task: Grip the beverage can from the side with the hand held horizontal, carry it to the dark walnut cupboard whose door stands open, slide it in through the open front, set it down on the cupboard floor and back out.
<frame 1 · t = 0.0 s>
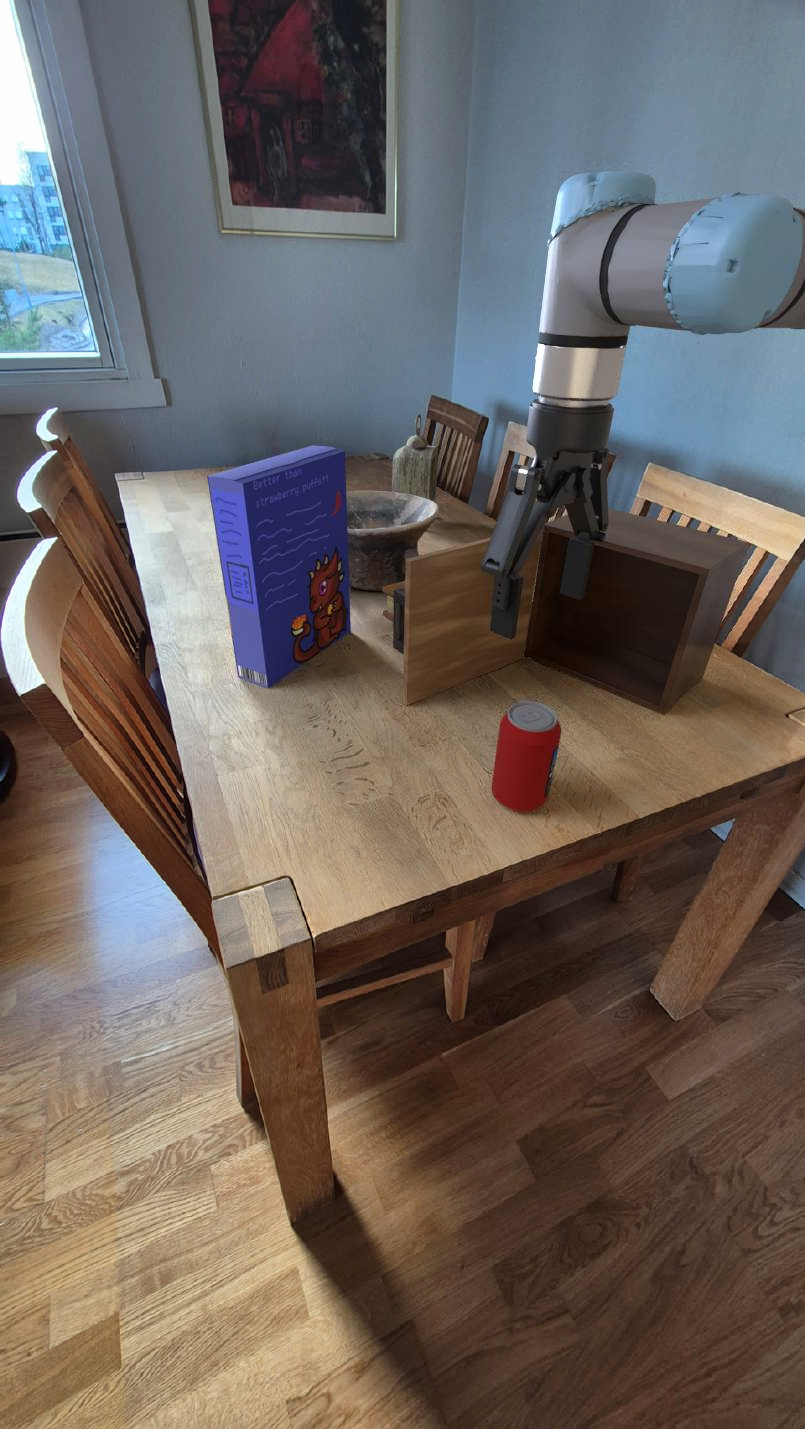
hand: (538, 614, 69), 21 cm above the table, tool pointing down, fingers open, 13 cm apart
beverage can: (518, 797, 75), on the table
cabinet door: (460, 608, 92), point 11 cm above the table, hinge at 100.0°
cabinet: (611, 667, 101), on the table
grey bell: (413, 522, 159), on the table
bowl: (371, 580, 128), on the table
cereal box: (298, 654, 103), on the table
diary: (461, 627, 111), on the table
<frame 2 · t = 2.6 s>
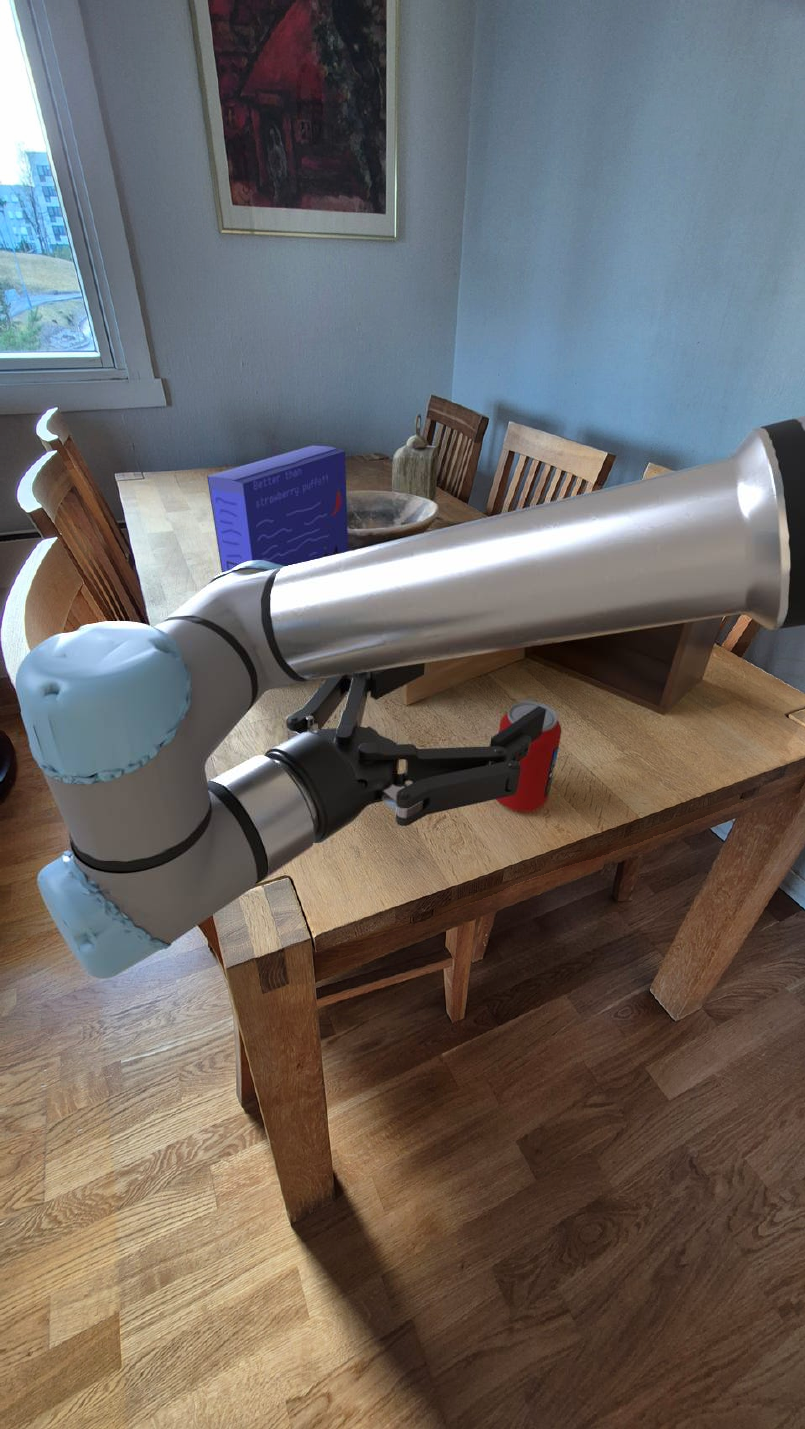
hand: (477, 688, 57), 20 cm above the table, tool horizontal, fingers open, 13 cm apart
nothing on the table moved.
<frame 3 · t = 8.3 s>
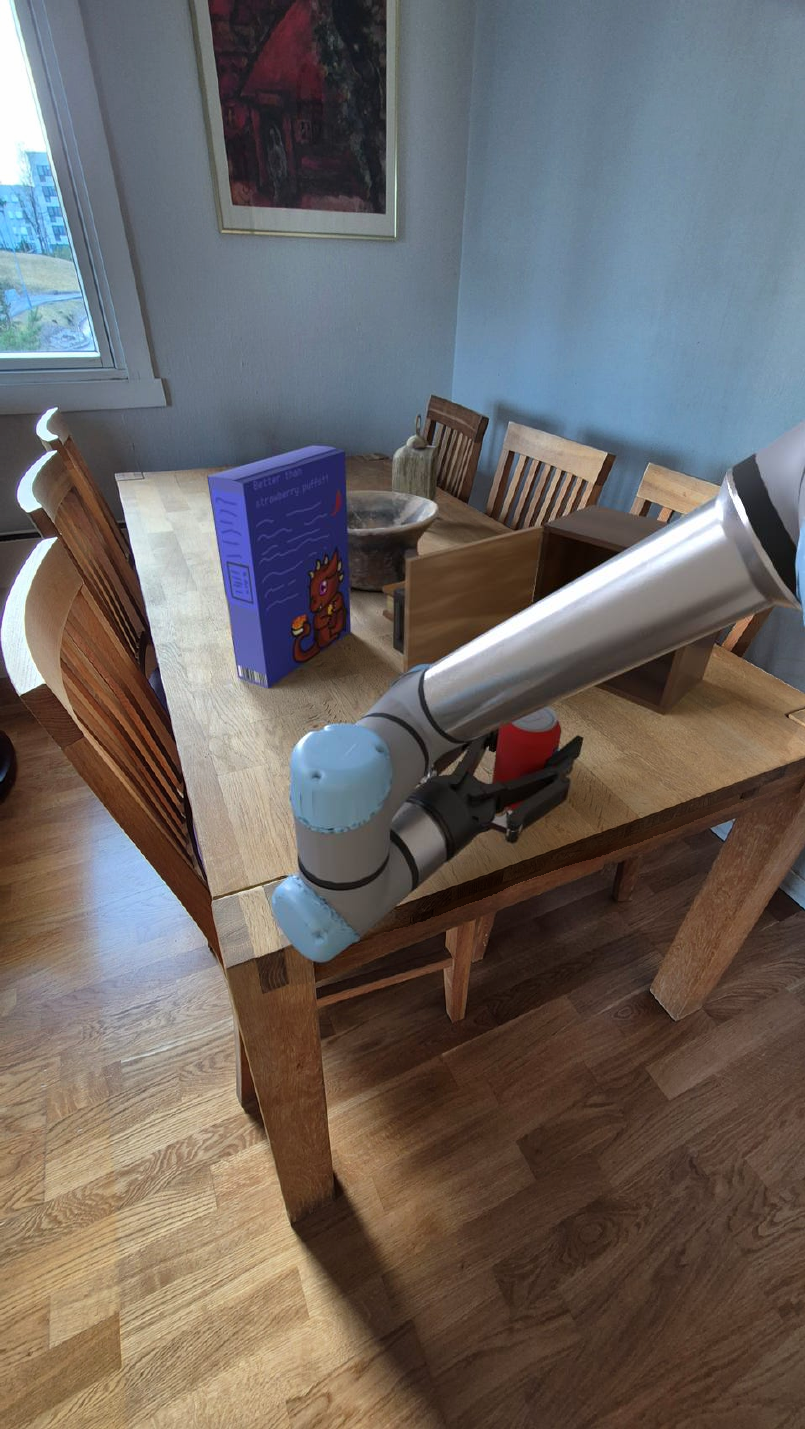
hand: (550, 732, 74), 7 cm above the table, tool horizontal, fingers closed on beverage can, 7 cm apart
beverage can: (518, 797, 75), on the table, touching gripper
everything else where it was.
when the fingers open (8 cm above the table, at t = 19.9 s): beverage can stays where it is, resting on cabinet.
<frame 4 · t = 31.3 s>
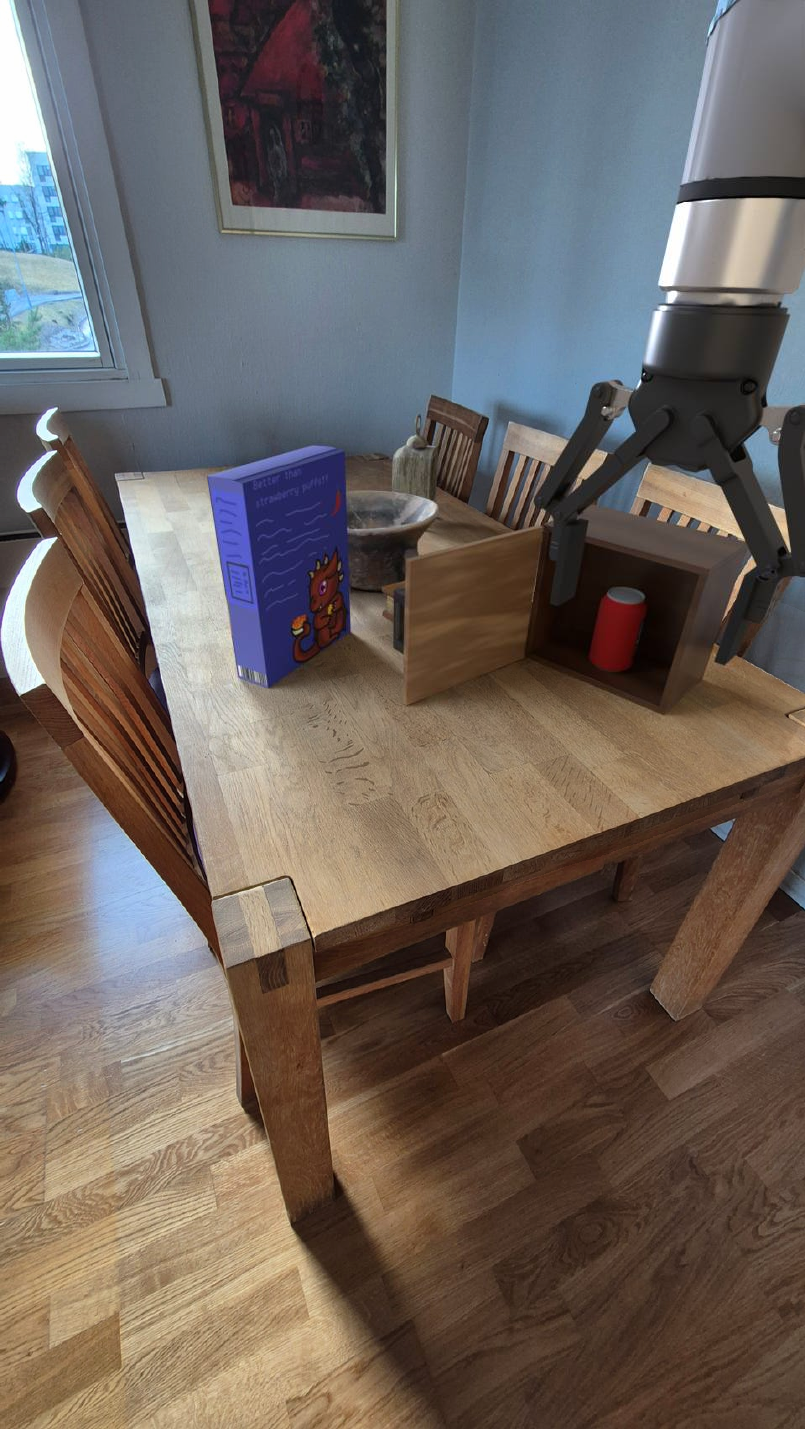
hand: (637, 627, 49), 29 cm above the table, tool pointing down, fingers open, 13 cm apart
beverage can: (609, 665, 99), point 1 cm above the table, touching cabinet
everything else where it was.
at the end: beverage can inside the target area in the cabinet (1.2 cm from its centre), point 0.8 cm above the cabinet's base; beverage can tilted 0°; the gripper is holding nothing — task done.
